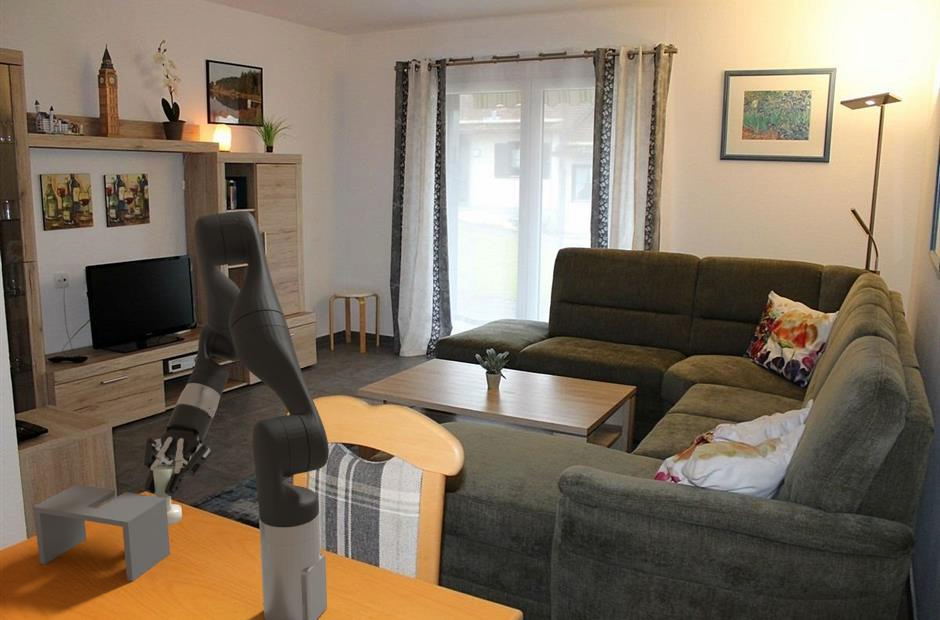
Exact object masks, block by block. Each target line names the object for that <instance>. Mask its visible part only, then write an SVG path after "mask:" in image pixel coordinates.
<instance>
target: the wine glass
mask: <svg viewBox="0 0 940 620" xmlns="http://www.w3.org/2000/svg"><path fill="white" fill-rule="evenodd" d="M174 470H175V464H174V465H173V464H165V465H161V464H160V466H157V467H155V468H154V469H153V475H154V486H155V492H154V494H155V495H154V496H155V497H161V498H166V505H167V519H168V526H171V525H174V524H177V523H179V522H180V521H181V520H182V519H183V512H182V506H181V505H180V504H178V503H177V504H176V503H172V496H168V495H167V494H166V493H165V489H166V487H167V484H168V482H169V480H170V478H171V475H172V474H175V473H174Z"/></svg>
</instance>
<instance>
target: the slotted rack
mask: <svg viewBox="0 0 940 620" xmlns="http://www.w3.org/2000/svg"><path fill="white" fill-rule="evenodd" d="M115 496H116V491H115V489H109V488H104V487H103V488H102V487H96V486H95V487H94V486H89V485H82V484H77V483H76V484H74V485H72V486H70V487H69V488H67V489H64V490H62V491H61V492H59V493H57V494H55V495H53V496H51V497H49V498H48V499H46V500H44V501H41V502H39V503H37V504H36V505H33V513H34V522H35V531H36V542H37V552H38V559H39V564H40V565H47V564H49V563H50V562H52V561H53V560H55V559H56V558H58V557H59V556H61V555H63V554H64V553H66V552H67V551H69V550H71V549H72V548H74V547H76V546H78V545H79V544H81V543H83V542H84V541H86V539H87V532H86V531H87V530H86V522H91V523H98V524H103V525H108V526H109V525H110V526H115V527H121V528H122V538H123V546H124V548H123V549H124V559H125V569H126V571H125V573H126V580H127V581H130V582H134V581H135V580H137V579H139V578H140V577H141V576H143V574H145V573H146V572H148V571H149V570H150V569H152V568H153V567H154V566H155V565H157V564H159V563H160V562H161V561H163V560H164V559H165V558H167V557H168V556H169V555H171V551H170V549H171V548H170V537H169V536H170V534H169V533H170V532H169V525H168V519H167V505H166V498H162V497H157V496H156V495H154V496H153V495H148V494H147V495H146V494H140V493H135V492H130V491H129V492H128V491H125V492H123V493H122V494H121V493H120V495H118V496H116V497H115ZM111 498H112V499H111ZM109 499H111V500H109ZM108 500H109V501H108ZM106 501H107V502H106ZM104 502H105V503H104ZM102 503H104V504H102ZM99 505H101V506H99ZM97 506H99V507H97Z"/></svg>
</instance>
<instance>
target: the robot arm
mask: <svg viewBox="0 0 940 620" xmlns="http://www.w3.org/2000/svg"><path fill="white" fill-rule="evenodd" d="M193 231H194V234H193V235H194V244H195V250H196V256H197V257H196V258H197V262H198V267H199V272H200V277H201V281H202V285H203V289H204V294H205V301H206V304H205V306H206V321H207V323H205V324H204V325H203V327H202V328H201V329H200V332H199V337H198V345H197V346H198V347H197V354H196V359H195V363H194V367H193V369H192V372H191V374H190V375H189V378H188V381H187V383H186V385H185V387H184V389H183V390H182V392H181V393H180V395H179V397H178V399H177V402H176V404H175V406H174V408H173V411H172V413H171V416H170V418H169V420H168V422H167V424H166V425H167V426H166V431H165V433H164V434H163V435H162V436H161V438H157V439H154V438H152V437H149V438H148V439H146V445H145V454H144V460H143V466H145V467H146V468H147V469H149V470H150V471H149V474H148V477H147V478H146V481H145V482H144V490H145V491H146V492H147V493H148V494H151V495H152V494H155V486H154V475H153V469H154V468H155V467H157V466H160V465H165V464H170V465H172V463H173V461H174V463H175V464H174V466H175V470H174V473H175V474H172V475H171V478H170V480H169V482H168V484H167V487H166V489H165V493H166V494H167V495H168V496H171V497H174V496H175V494H177V493H178V491H179V489H180V487H181V485H182V482H183V480H184V479H185V478H186V477H189V476H190V477H195V476H196V474H197V473H198V472H199V470H201V468H202V467H203V465H204V464H205V463H206V461H207V460H209V459H208V458H210V457H211V455H212V453H213V451H212V449H210V448H209V447H208V446H207V445H206V444H203V440H204V439H205V438H206V436H207V434H208V431H209V429H210V426H211V424H212V422H213V419H214V417H215V414H216V411H217V409H218V406H219V402H220V399H221V396H222V394H223V392H224V390H225V387H226V385H227V382H228V380H229V374H230V373H229V371H228V369H226V367H224V366H223V365H222V364H220V363H218V362H216V361H215V360H213V359H212V358H211V356H212V357H213V356H214V357H217V358H221V359H224V360H227V361H231V362H241V364H242V365H243V366H244V367H245V368H246V369H247V370H248V371H249V372H250V373H251V374H252V375H253V376H255V377H256V379H258V380H260V381H261V382H263V384H265V385H266V387H267V386H268V387H269V388H270V389H271V390H272V391H273V392H274V393H275V394H276V395H277V396H278V397H279V398H280V400H281V401H282V403H283V405H284V406H285V408H286V410H287V412H288V413H289V414H287V415H279V416H276V417H275V416H274V417H270V418H269V417H268V418H264V419H261V420H258V421H257V422H256V423H255V425H254V427H253V430H252V443H251V444H252V454H253V462H254V472H255V481H256V482H255V483H256V494H257V495H256V496H257V504H258V520H259V521H258V522H259V542H260V561H261V562H260V565H261V566H260V567H261V582H262V583H261V584H262V599H263V600H262V606H263V617H264V620H319V618H320V617H321V615H323V613H324V612H325V610H327V608H328V591H327V588H328V587H327V564H326V563H327V559H326V554H324V553H321V539H320V537H321V534H320V533H321V530H320V506H319V505H320V504H319V498H318V495H317V493H316V492H315V491H313V490H312V489H310V488H307V487H304V486H300V485H295V484H294V485H292V484H288V483H283V480H282V479H283V478H285V477H289V476H294V475H295V476H296V475H299V474H303V473H309V472H312V471H317V470H320V469H322V468H323V467H325V466H326V464H327V463H328V461H329V456H330V455H329V453H330V452H329V451H330V449H329V443H328V442H329V441H328V436H327V433H326V429H325V426H324V424H323V420H322V418H321V416H320V414H319V411H318V409H317V406H316V404H315V402H314V400H313V397H312V394H311V392H310V390H309V388H308V384H307V383H306V381H305V378H304V375H303V372H302V370H301V367H300V363H299V360H298V356H297V354H296V350H295V347H294V343H293V340H292V335H291V333H290V330H289V327H288V323H287V320H286V317H285V314H284V311H283V308H282V307H281V303H280V301H279V297H278V294H277V292H276V288H275V286H274V282H273V280H272V277H271V276H272V275H271V273H270V269H269V266H268V265H269V264H268V262H267V261H268V259H267V258H266V253H265V249H264V244H263V240H262V235H261V232H260V228H259V225H258V222H257V220H256V218H255V217H254V216H253V214H252V213H251V212H249V211H248V210H247V211H244V210H243V211H242V210H239V211H229V212H227V211H226V212H221V213H212V214H211V213H210V214H206V215H203V216H199V217H198V218H197V219H196V221H195V224H194V229H193ZM240 263H246V264H247V271H246V275H245V277H244V278H245V279H244V282H243V284H242V286H241V289H240V288H239V286H237V284H236V283H235V282H234V281H233V280H232V279H231V278H230V277H228V276H227V275H226V274H225V273H224V272H223V271H222V270H221V269H220V268H219V266H225V265H233V264H240Z"/></svg>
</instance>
